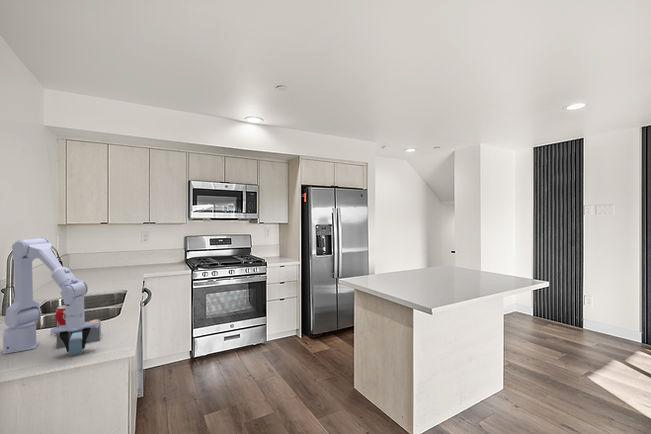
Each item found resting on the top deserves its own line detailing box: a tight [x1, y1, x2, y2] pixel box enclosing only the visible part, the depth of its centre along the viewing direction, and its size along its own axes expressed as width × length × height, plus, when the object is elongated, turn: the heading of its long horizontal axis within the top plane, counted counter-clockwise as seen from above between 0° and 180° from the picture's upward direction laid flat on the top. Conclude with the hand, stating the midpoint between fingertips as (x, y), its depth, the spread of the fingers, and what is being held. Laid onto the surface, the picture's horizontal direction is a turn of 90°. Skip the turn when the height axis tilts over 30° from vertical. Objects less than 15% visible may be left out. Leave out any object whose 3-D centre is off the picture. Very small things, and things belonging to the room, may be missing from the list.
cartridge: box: [68, 330, 84, 357], centre depth 130 cm, size 4×13×5 cm, turn 32°
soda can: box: [54, 304, 66, 328], centre depth 145 cm, size 7×7×12 cm
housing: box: [55, 319, 102, 349], centre depth 138 cm, size 14×9×6 cm, turn 122°
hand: (76, 349), depth 125 cm, fingers closed on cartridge, 4 cm apart
